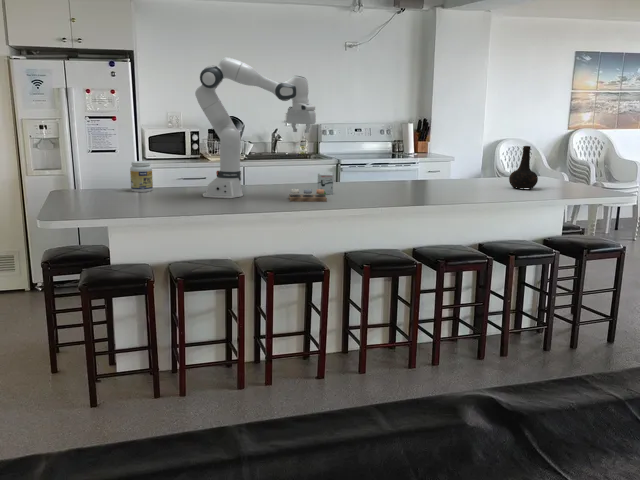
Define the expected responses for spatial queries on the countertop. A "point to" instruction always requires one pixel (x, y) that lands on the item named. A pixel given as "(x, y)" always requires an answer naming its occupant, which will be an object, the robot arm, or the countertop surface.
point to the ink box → (325, 182)
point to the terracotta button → (320, 191)
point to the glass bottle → (524, 172)
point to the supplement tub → (141, 176)
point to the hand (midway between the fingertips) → (300, 132)
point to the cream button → (295, 191)
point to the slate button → (307, 191)
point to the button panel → (307, 198)
